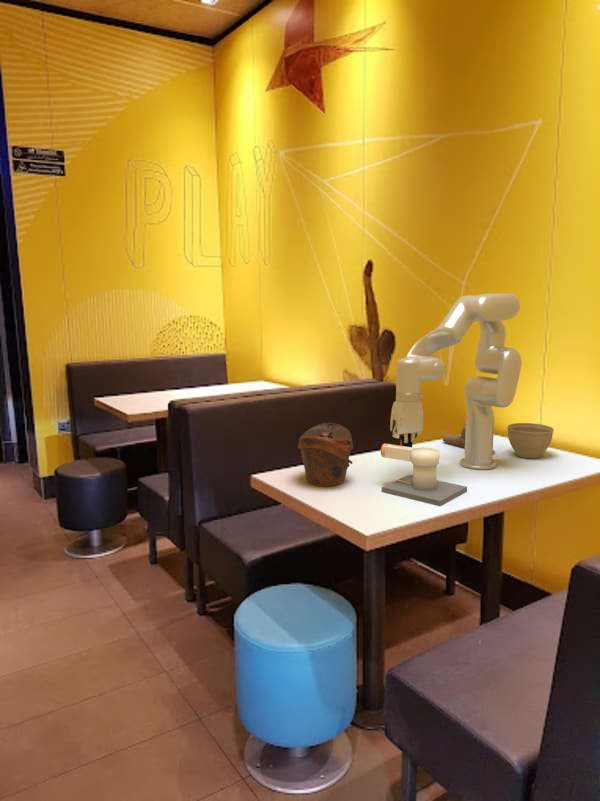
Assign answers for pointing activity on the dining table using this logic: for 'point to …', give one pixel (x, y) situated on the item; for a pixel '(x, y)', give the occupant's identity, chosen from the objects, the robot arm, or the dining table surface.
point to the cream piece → (411, 454)
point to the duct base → (425, 495)
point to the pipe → (456, 438)
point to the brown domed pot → (326, 454)
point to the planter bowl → (529, 439)
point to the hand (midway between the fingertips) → (406, 453)
